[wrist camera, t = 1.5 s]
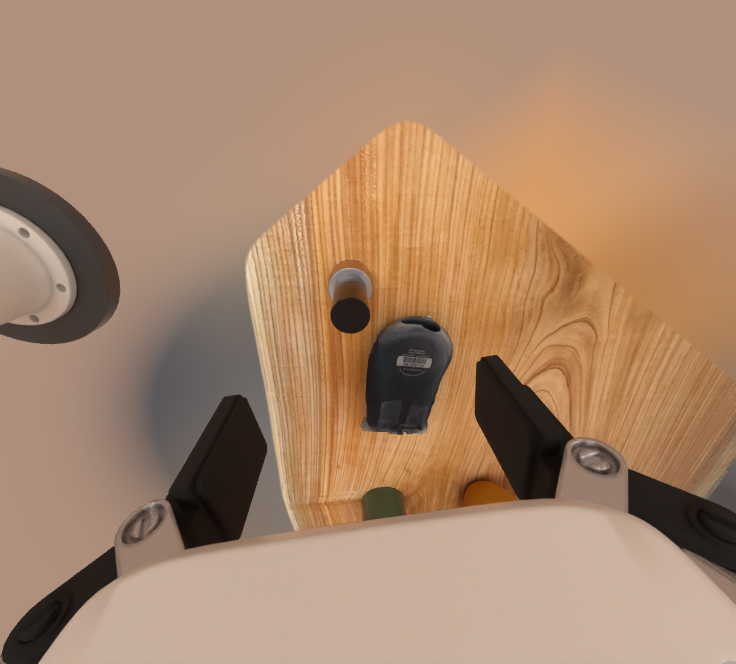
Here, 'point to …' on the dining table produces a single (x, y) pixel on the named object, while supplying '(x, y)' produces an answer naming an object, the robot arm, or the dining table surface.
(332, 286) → the torch
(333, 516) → the dining table surface
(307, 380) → the dining table surface
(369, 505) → the bottle
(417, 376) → the electronic device
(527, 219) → the dining table surface
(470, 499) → the apple
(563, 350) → the dining table surface
